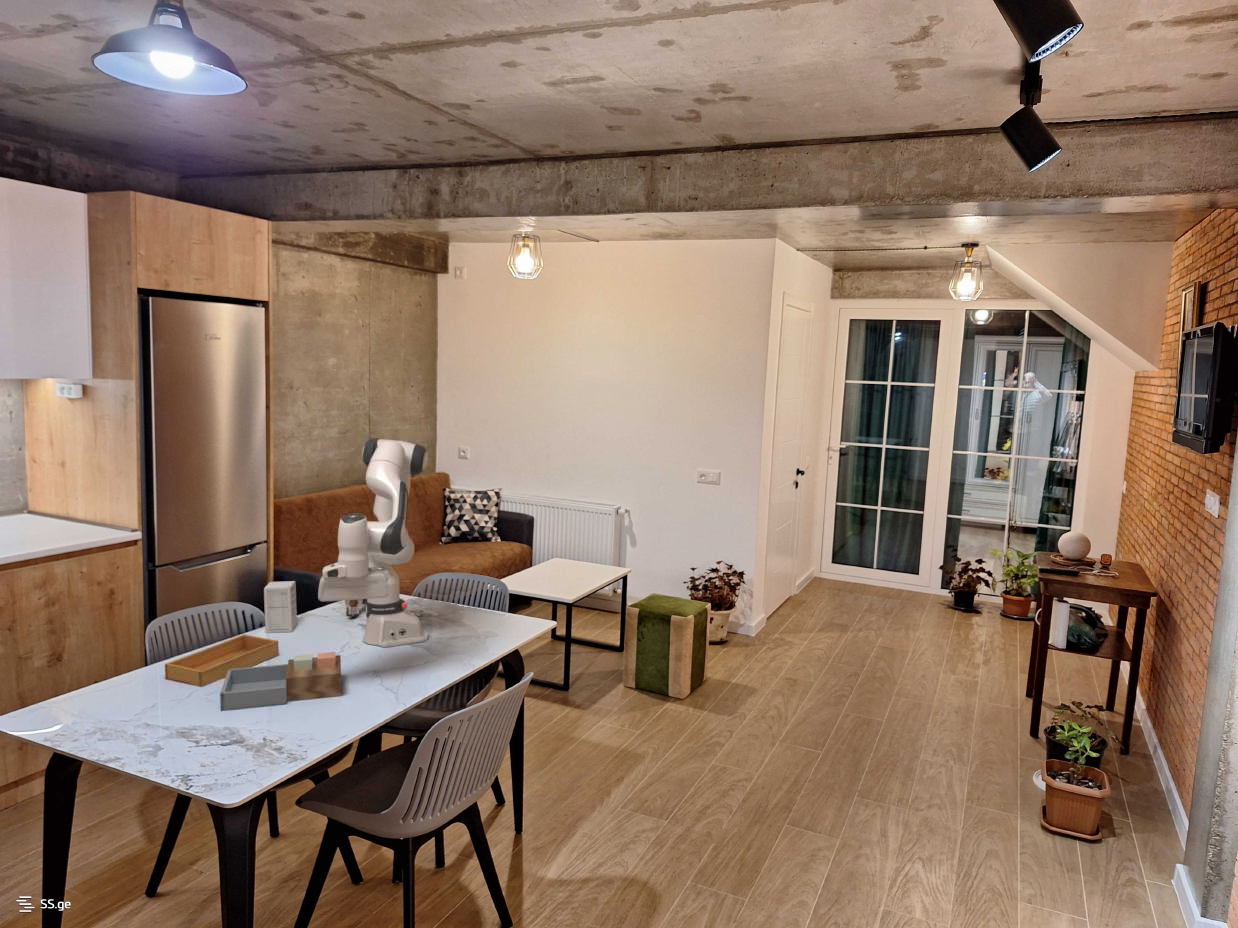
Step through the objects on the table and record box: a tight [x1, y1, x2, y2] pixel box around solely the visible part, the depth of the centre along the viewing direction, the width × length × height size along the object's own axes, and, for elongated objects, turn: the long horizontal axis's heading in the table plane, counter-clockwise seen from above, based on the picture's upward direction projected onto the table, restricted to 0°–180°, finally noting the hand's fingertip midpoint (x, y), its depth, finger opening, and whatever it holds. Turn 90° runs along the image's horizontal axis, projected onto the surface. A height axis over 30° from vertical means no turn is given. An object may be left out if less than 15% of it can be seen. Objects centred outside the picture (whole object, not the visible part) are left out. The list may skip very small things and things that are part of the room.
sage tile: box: [294, 653, 314, 671], centre depth 247 cm, size 5×5×3 cm
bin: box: [219, 663, 288, 712], centre depth 244 cm, size 17×20×5 cm
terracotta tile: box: [317, 651, 336, 669], centre depth 250 cm, size 5×5×3 cm
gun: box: [345, 599, 367, 618], centre depth 332 cm, size 5×27×15 cm, turn 174°
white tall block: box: [263, 580, 298, 634], centre depth 304 cm, size 10×9×17 cm
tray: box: [164, 634, 280, 688], centre depth 265 cm, size 31×15×6 cm, turn 158°
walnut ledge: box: [286, 654, 342, 703], centre depth 249 cm, size 15×16×7 cm
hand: (353, 613), depth 250 cm, fingers closed
